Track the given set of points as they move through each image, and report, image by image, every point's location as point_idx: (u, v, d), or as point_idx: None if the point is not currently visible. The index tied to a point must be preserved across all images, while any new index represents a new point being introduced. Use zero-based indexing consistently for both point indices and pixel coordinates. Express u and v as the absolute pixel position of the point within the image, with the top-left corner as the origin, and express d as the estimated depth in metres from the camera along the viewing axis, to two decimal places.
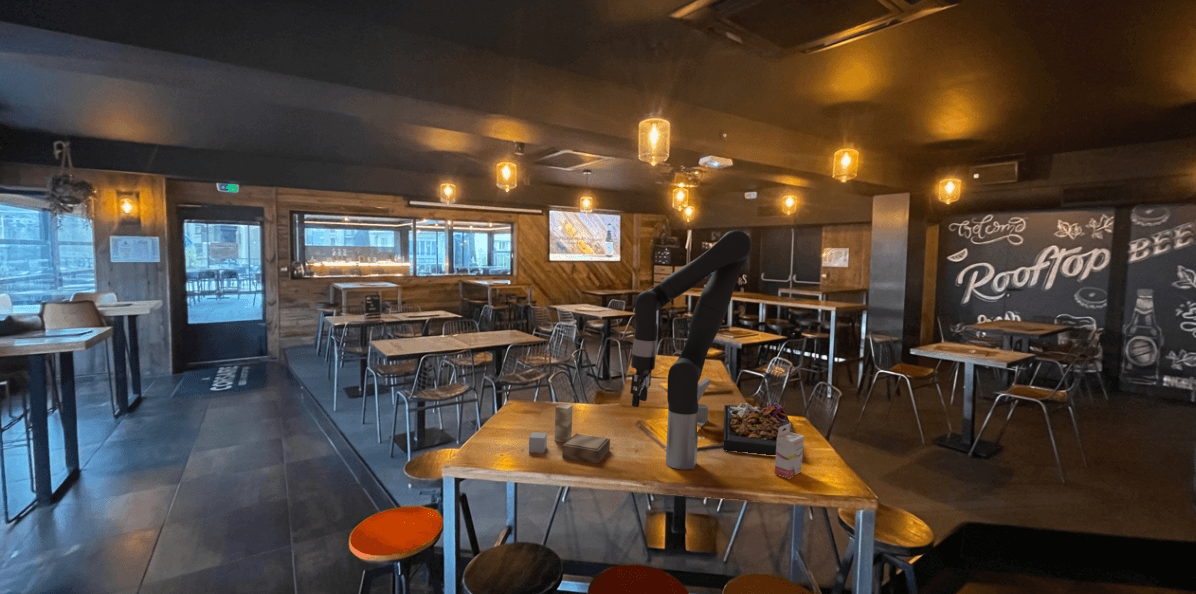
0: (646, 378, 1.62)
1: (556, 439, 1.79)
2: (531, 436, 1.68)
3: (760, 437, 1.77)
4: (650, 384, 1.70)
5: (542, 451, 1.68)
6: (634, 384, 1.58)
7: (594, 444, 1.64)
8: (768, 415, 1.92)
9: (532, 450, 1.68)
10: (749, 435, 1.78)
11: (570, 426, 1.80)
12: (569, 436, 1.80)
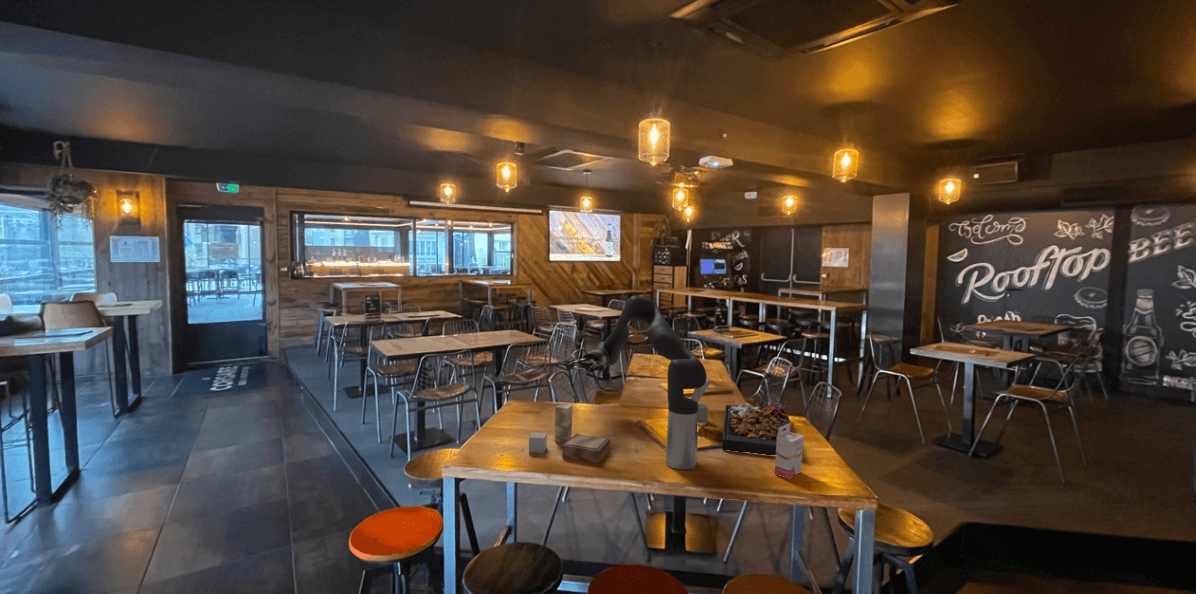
0: (584, 358, 1.95)
1: (556, 439, 1.79)
2: (531, 436, 1.68)
3: (759, 437, 1.77)
4: (601, 364, 1.89)
5: (542, 451, 1.68)
6: None
7: (594, 444, 1.64)
8: (768, 415, 1.92)
9: (532, 450, 1.68)
10: (748, 435, 1.78)
11: (570, 426, 1.80)
12: (569, 436, 1.80)
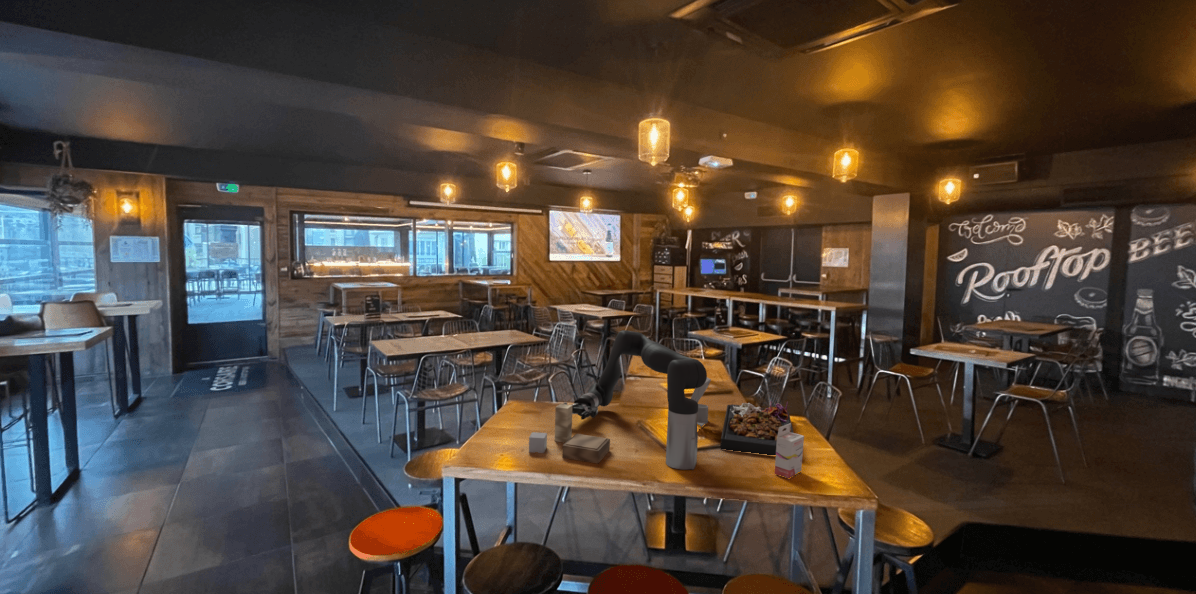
0: (576, 403, 1.95)
1: (556, 439, 1.79)
2: (531, 436, 1.68)
3: (758, 437, 1.77)
4: (593, 410, 1.89)
5: (542, 451, 1.68)
6: None
7: (594, 444, 1.64)
8: (768, 415, 1.92)
9: (532, 450, 1.68)
10: (747, 434, 1.79)
11: (570, 426, 1.80)
12: (569, 436, 1.80)
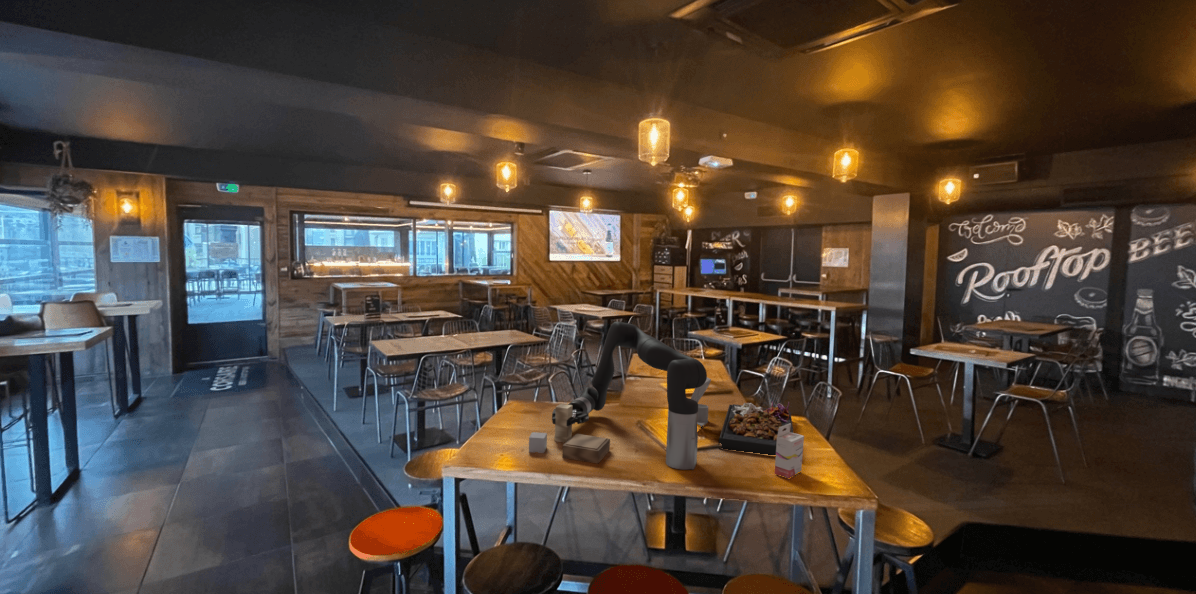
0: None
1: (556, 439, 1.79)
2: (531, 436, 1.68)
3: (756, 436, 1.78)
4: (579, 416, 1.80)
5: (542, 451, 1.68)
6: None
7: (594, 444, 1.64)
8: (768, 415, 1.92)
9: (532, 450, 1.68)
10: (745, 434, 1.79)
11: (570, 426, 1.80)
12: (569, 436, 1.80)
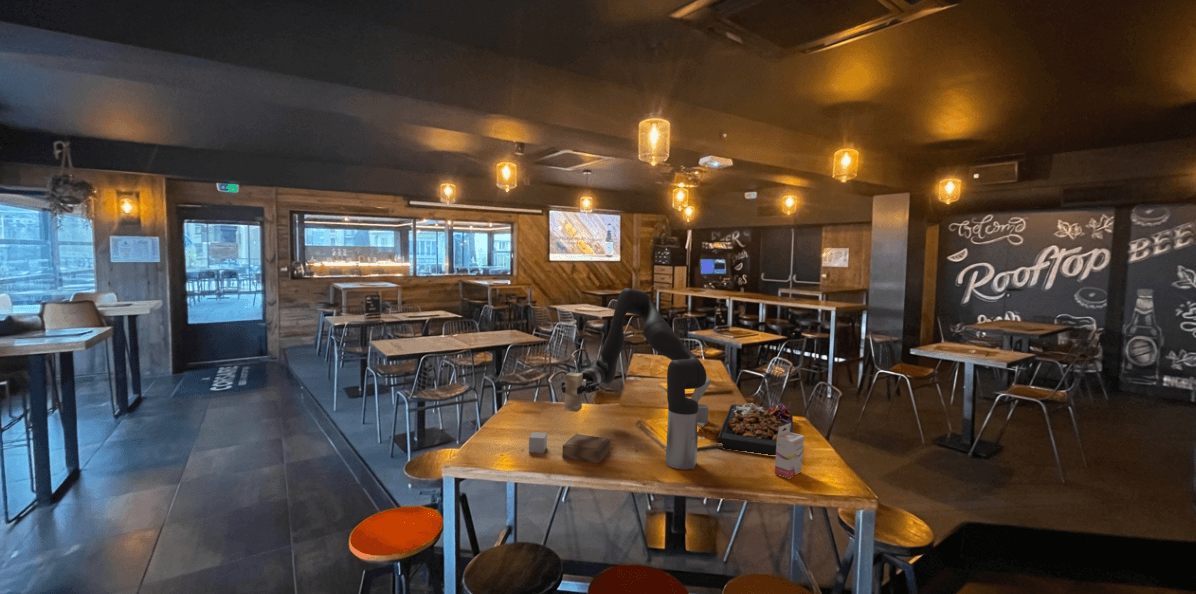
0: None
1: (566, 408, 1.73)
2: (531, 436, 1.68)
3: (755, 436, 1.78)
4: (590, 384, 1.74)
5: (542, 451, 1.68)
6: None
7: (594, 444, 1.64)
8: (768, 415, 1.92)
9: (532, 450, 1.68)
10: (744, 433, 1.79)
11: (580, 395, 1.74)
12: (579, 405, 1.74)
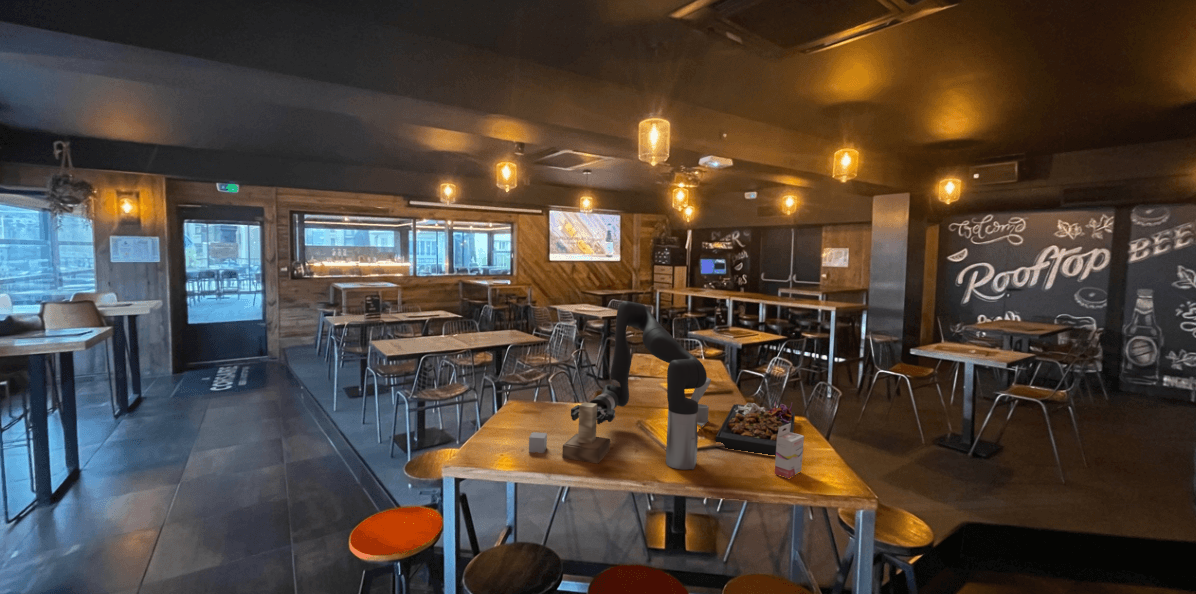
0: None
1: (580, 440, 1.66)
2: (531, 436, 1.68)
3: (753, 436, 1.78)
4: (610, 413, 1.68)
5: (542, 451, 1.68)
6: None
7: (594, 444, 1.64)
8: (768, 415, 1.92)
9: (532, 450, 1.68)
10: (743, 433, 1.80)
11: (595, 426, 1.68)
12: (594, 437, 1.67)
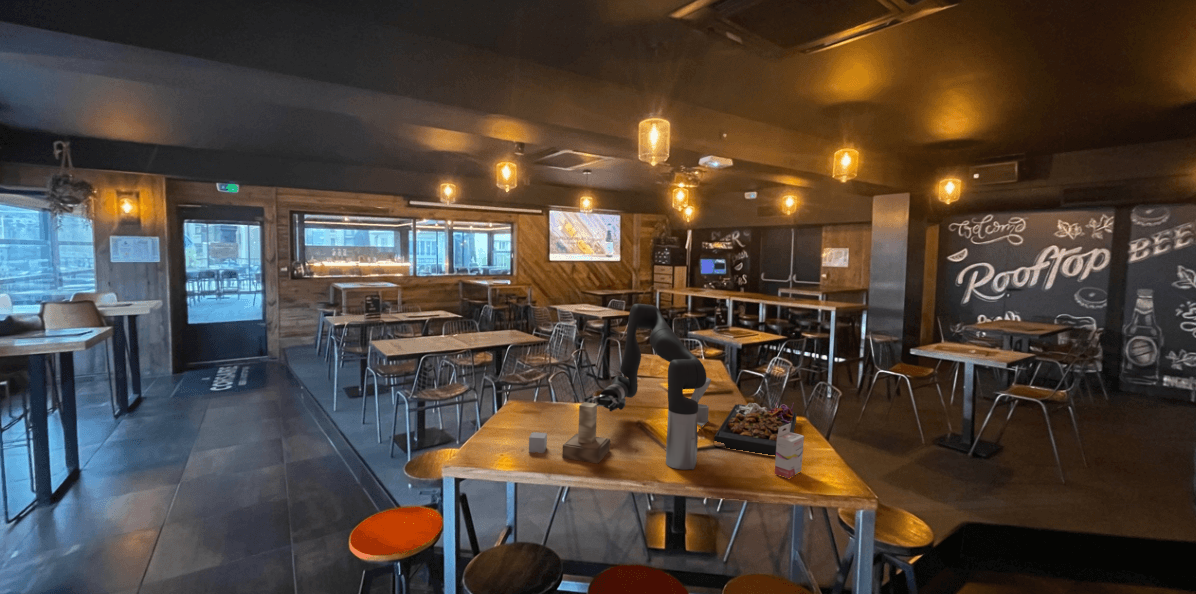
0: (602, 395, 1.86)
1: (580, 440, 1.66)
2: (531, 436, 1.68)
3: (752, 435, 1.78)
4: (621, 401, 1.80)
5: (542, 451, 1.68)
6: None
7: (594, 444, 1.64)
8: (769, 415, 1.92)
9: (532, 450, 1.68)
10: (742, 433, 1.80)
11: (595, 426, 1.68)
12: (594, 437, 1.67)
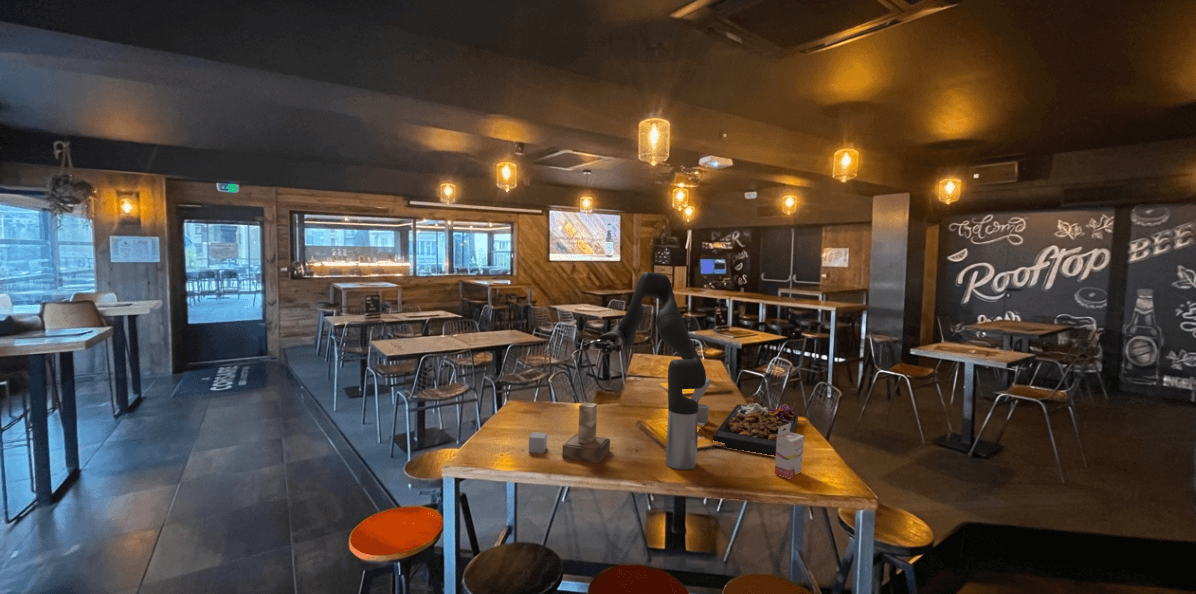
0: (600, 339, 1.89)
1: (580, 440, 1.66)
2: (531, 436, 1.68)
3: (751, 435, 1.79)
4: (618, 344, 1.83)
5: (542, 451, 1.68)
6: None
7: (594, 444, 1.64)
8: (769, 415, 1.92)
9: (532, 450, 1.68)
10: (740, 432, 1.80)
11: (595, 426, 1.68)
12: (594, 437, 1.67)
